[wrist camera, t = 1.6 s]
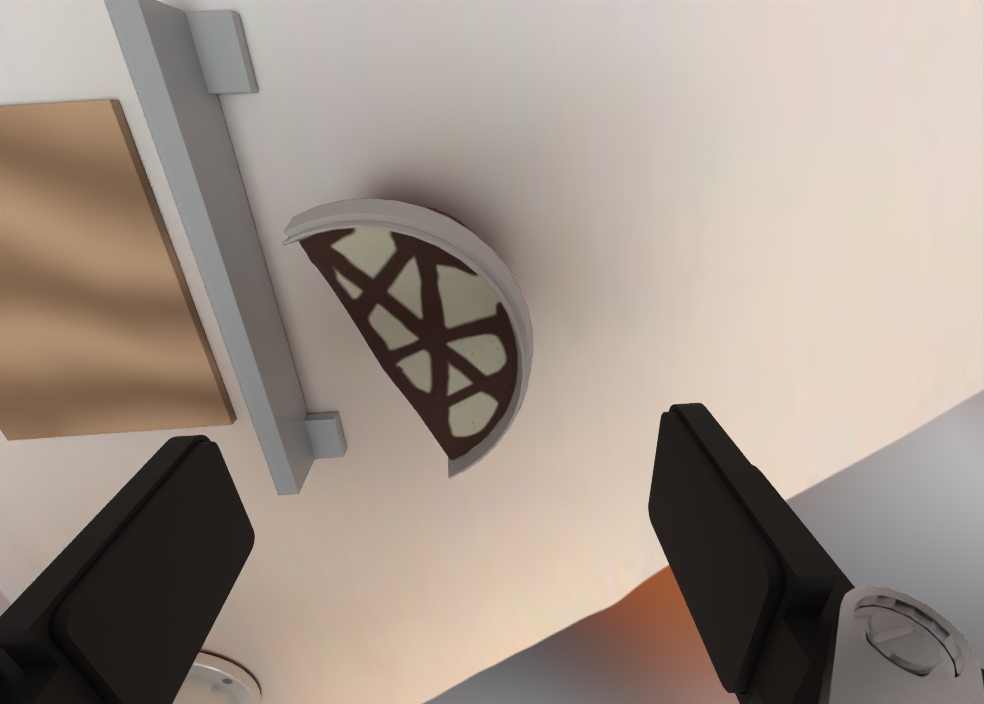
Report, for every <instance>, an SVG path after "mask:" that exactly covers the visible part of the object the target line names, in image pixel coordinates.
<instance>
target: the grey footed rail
mask: <svg viewBox="0 0 984 704" xmlns="http://www.w3.org/2000/svg"><path fill="white" fill-rule="evenodd" d="M104 2H105V5H106V7H107V10H108V13H109V16H110V19H111V22H112V24H113V27H114V30H115V33H116V36H117V39H118V41H119V44H120V47H121V50H122V53H123V56H124V59H125V61H126V64H127V67H128V70H129V73H130V76H131V78H132V81H133V84H134V87H135V90H136V93H137V95H138V98H139V101H140V104H141V107H142V110H143V112H144V115H145V118H146V121H147V124H148V127H149V129H150V132H151V135H152V138H153V141H154V144H155V146H156V149H157V152H158V155H159V158H160V161H161V164H162V166H163V169H164V172H165V175H166V178H167V181H168V183H169V186H170V189H171V192H172V195H173V198H174V200H175V203H176V206H177V209H178V212H179V215H180V217H181V220H182V223H183V226H184V229H185V232H186V234H187V237H188V240H189V243H190V246H191V249H192V252H193V254H194V257H195V260H196V263H197V266H198V269H199V271H200V274H201V277H202V280H203V283H204V286H205V288H206V291H207V294H208V297H209V300H210V303H211V305H212V308H213V311H214V314H215V317H216V320H217V322H218V325H219V328H220V331H221V334H222V337H223V340H224V342H225V345H226V348H227V351H228V354H229V357H230V359H231V362H232V365H233V368H234V371H235V374H236V376H237V379H238V382H239V385H240V388H241V391H242V393H243V396H244V399H245V402H246V405H247V408H248V410H249V413H250V416H251V419H252V422H253V425H254V427H255V430H256V433H257V436H258V439H259V442H260V445H261V447H262V450H263V453H264V456H265V459H266V462H267V464H268V467H269V470H270V473H271V476H272V479H273V481H274V484H275V487H276V490H277V493H278V495H289V494H299V492H300V490H301V488H302V485H303V483H304V481H305V479H306V477H307V475H308V472H309V470H310V468H311V466H312V464H313V462H314V460H315V459H317V458H331V457H344V455H345V452H346V449H347V448H346V444H345V440H344V436H343V432H342V428H341V424H340V420H339V416H338V412H329V413H315V414H308V412H307V408H306V405H305V401H304V398H303V394H302V391H301V387H300V384H299V380H298V377H297V373H296V370H295V366H294V363H293V359H292V355H291V352H290V348H289V345H288V341H287V338H286V334H285V331H284V327H283V324H282V320H281V317H280V313H279V310H278V306H277V303H276V299H275V295H274V292H273V288H272V285H271V281H270V278H269V274H268V271H267V267H266V264H265V260H264V257H263V253H262V250H261V246H260V243H259V239H258V235H257V232H256V228H255V225H254V221H253V218H252V214H251V211H250V207H249V204H248V200H247V197H246V193H245V190H244V186H243V183H242V179H241V175H240V172H239V168H238V165H237V161H236V158H235V154H234V151H233V147H232V144H231V140H230V137H229V133H228V130H227V126H226V122H225V119H224V115H223V112H222V108H221V105H220V101H219V98H218V95H220V94H237V93H254V92H258V89H257V85H256V81H255V77H254V73H253V69H252V65H251V61H250V57H249V53H248V48H247V44H246V40H245V36H244V32H243V28H242V24H241V20H240V16H239V14H238V13H236V12H234V11H232V10H217V11H199V12H183V11H181V10H178V9H176V8H173V7H171V6H168V5H166V4H164V3H161V2H159V1H156V0H104Z"/></svg>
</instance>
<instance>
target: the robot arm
mask: <svg viewBox="0 0 984 704" xmlns="http://www.w3.org/2000/svg"><path fill="white" fill-rule="evenodd" d="M648 510H649V517H650V521H651V523H652V526H653V528H654V530H655V533H656V535H657V537H658V539H659V542H660V544H661V546H662V549H663V551H664V553H665V556H666V558H667V560H668V562H669V565H670V567H671V569H672V571H673V574H674V576H675V578H676V581H677V583H678V585H679V587H680V590H681V592H682V594H683V597H684V599H685V601H686V604H687V606H688V608H689V611H690V613H691V615H692V617H693V619H694V622H695V624H696V627H697V629H698V631H699V633H700V635H701V638H702V640H703V642H704V645H705V647H706V650H707V652H708V654H709V656H710V659H711V661H712V663H713V665H714V668H715V670H716V672H717V675H718V677H719V679H720V681H721V683H722V685H723V687H724V688H725V690H726V691H727V692H728V693H735V694H736V696H737V698H738V700H739V703H740V704H984V669H982V668H981V667H980V665H979V662H978V659H977V656H976V653H975V651H974V650H973V648H972V647H971V646H970V644H969V643H968V641H967V640H966V639H965V637H964V636H963V635H962V634H961V633H960V632H959V631H958V630H957V629H956V628H955V627H954V626H953V625H952V624H951V623H950V622H949V621H948V620H947V619H946V618H944V617H943V616H942V615H940V614H939V613H937V612H936V611H935V610H933V609H932V608H930V607H929V606H927V605H926V604H924V603H922V602H920V601H918V600H916V599H914V598H912V597H911V596H908V595H907V594H904V593H901V592H898V591H895V590H892V589H889V588H885V587H877V586H869V585H868V586H862V587H856V588H855V587H854V586H853V585H852V583H851V582H850V581H849V580H848V578H847V577H846V576H845V575H844V573H843V572H842V571H841V570H840V569H839V567H838V566H837V565H836V564H835V562H834V561H833V560H832V559H831V557H830V556H829V555H828V554H827V552H826V551H825V550H824V549H823V547H822V546H821V545H820V544H819V543H818V541H817V540H816V539H815V538H814V536H813V535H812V534H811V533H810V531H809V530H808V529H807V528H806V527H805V525H804V524H803V523H802V522H801V520H800V519H799V518H798V517H797V515H796V514H795V513H794V512H793V511H792V509H791V508H790V507H789V505H788V504H787V503H786V502H785V501H784V499H783V498H782V497H781V496H780V494H779V493H778V492H777V491H776V489H775V488H774V487H773V486H772V485H771V483H770V482H769V481H768V480H767V478H766V477H765V476H764V475H763V473H762V472H761V471H760V470H759V469H758V468H757V467H756V466H754V465H751V463H750V462H749V461H748V460H747V458H746V457H745V456H744V455H743V453H742V452H741V451H740V450H739V448H738V447H737V446H736V445H735V443H734V442H733V441H732V440H731V438H730V437H729V436H728V435H727V433H726V432H725V431H724V430H723V428H722V427H721V426H720V425H719V423H718V422H717V421H716V420H715V418H714V417H713V416H712V415H711V413H710V412H709V411H708V410H707V408H706V407H705V406H704V405H703V404H701V403H689V404H674V405H672V406H671V407H670V409H669V412H664V413H663V414H662V415H661V420H660V427H659V434H658V441H657V448H656V455H655V462H654V469H653V476H652V483H651V490H650V497H649V504H648ZM254 539H255V536H254V530H253V528H252V525H251V523H250V521H249V518H248V516H247V513H246V511H245V509H244V506H243V504H242V502H241V499H240V497H239V494H238V492H237V490H236V487H235V485H234V483H233V480H232V478H231V475H230V473H229V471H228V468H227V466H226V463H225V461H224V459H223V456H222V454H221V452H220V449H219V447H218V445H217V444H216V443H215V442H212V441H210V440H209V438H208V437H206V436H204V435H194V436H178V437H173V438H171V439H169V440H168V441H167V442H166V443H165V444H164V445H163V446H162V447H161V448H160V449H159V450H158V451H157V452H156V453H155V454H154V456H153V457H152V458H151V459H150V460H149V461H148V462H147V463H146V464H145V465H144V466H143V467H142V468H141V469H140V470H139V471H138V472H137V473H136V474H135V476H134V477H133V478H132V479H131V480H130V481H129V482H128V483H127V484H126V485H125V486H124V487H123V488H122V489H121V490H120V491H119V492H118V493H117V494H116V495H115V497H114V498H113V499H112V500H111V501H110V502H109V503H108V504H107V505H106V506H105V507H104V508H103V509H102V510H101V511H100V512H99V513H98V514H97V515H96V517H95V518H94V519H93V520H92V521H91V522H90V523H89V524H88V525H87V526H86V527H85V528H84V529H83V530H82V531H81V532H80V533H79V534H78V535H77V536H76V538H75V539H74V540H73V541H72V542H71V543H70V544H69V545H68V546H67V547H66V548H65V549H64V550H63V551H62V552H61V553H60V554H59V555H58V556H57V558H56V559H55V560H54V561H53V562H52V563H51V564H50V565H49V566H48V567H47V568H46V569H45V570H44V571H43V572H42V573H41V574H40V575H39V576H38V577H37V579H36V580H35V581H34V582H33V583H32V584H31V585H30V586H29V587H28V588H27V589H26V590H25V591H24V592H23V593H22V594H21V595H20V596H19V597H18V599H17V600H16V601H15V602H14V603H13V604H12V605H11V606H10V607H9V608H8V609H7V610H6V611H5V612H4V613H3V614H2V615H1V616H0V704H260V699H261V695H260V690H259V688H258V686H257V684H256V682H255V681H254V679H253V678H252V677H251V676H250V675H249V674H248V673H247V672H245V671H244V670H243V669H242V668H240V667H238V666H237V665H235V664H233V663H231V662H229V661H227V660H224V659H222V658H219V657H216V656H213V655H209V654H205V653H200V652H199V651H200V649H201V647H202V645H203V643H204V642H205V640H206V638H207V636H208V634H209V632H210V630H211V628H212V626H213V624H214V622H215V620H216V618H217V616H218V614H219V612H220V611H221V609H222V607H223V605H224V603H225V601H226V599H227V597H228V595H229V593H230V591H231V589H232V587H233V585H234V583H235V581H236V580H237V578H238V576H239V574H240V572H241V570H242V568H243V566H244V564H245V562H246V560H247V558H248V556H249V554H250V552H251V550H252V548H253V545H254Z"/></svg>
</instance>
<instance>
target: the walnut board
mask: <svg viewBox="0 0 984 704" xmlns="http://www.w3.org/2000/svg"><path fill="white" fill-rule="evenodd" d="M235 420H236V416H235V414H234V411H233V408H232V406H231V403H230V400H229V398H228V395H227V392H226V389H225V387H224V384H223V381H222V379H221V376H220V373H219V371H218V368H217V365H216V362H215V360H214V357H213V354H212V352H211V349H210V346H209V344H208V341H207V338H206V335H205V333H204V330H203V327H202V325H201V322H200V319H199V317H198V314H197V311H196V308H195V306H194V303H193V300H192V298H191V295H190V292H189V290H188V287H187V284H186V281H185V279H184V276H183V273H182V271H181V268H180V265H179V263H178V260H177V257H176V254H175V252H174V249H173V246H172V244H171V241H170V238H169V236H168V233H167V230H166V227H165V225H164V222H163V219H162V217H161V214H160V211H159V208H158V206H157V203H156V200H155V198H154V195H153V192H152V190H151V187H150V184H149V181H148V179H147V176H146V173H145V171H144V168H143V165H142V163H141V160H140V157H139V154H138V152H137V149H136V146H135V144H134V141H133V138H132V136H131V133H130V130H129V127H128V125H127V122H126V119H125V117H124V114H123V111H122V109H121V106H120V103H119V101H118V100H99V101H82V102H65V103H48V104H32V105H15V106H0V429H1V431H2V432H3V434H4V436H5V437H6V439H7V440H21V439H35V438H49V437H63V436H77V435H92V434H106V433H120V432H134V431H148V430H162V429H176V428H190V427H204V426H218V425H232V424H233V423H234V422H235Z"/></svg>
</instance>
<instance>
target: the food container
mask: <svg viewBox="0 0 984 704" xmlns="http://www.w3.org/2000/svg"><path fill="white" fill-rule="evenodd" d="M284 232H285V234H286V235H287V236H288V238H287V239H286V240H285V241H284V242H283V243H282V244H283V245H286V244H289V243H292V242H296V241H299V242H300V244H301V246H302V247H303V249H304V250H305V252H306V253H307V255H308V257H309V259H310V261H311V262H312V263H313V264H314V265H315V266H316V267H317V268H318V269H319V271H320V272H321V273H322V275H323V276H324V277H325V279H326V280H327V282H328V283H329V285H330V286H331V288H332V289H333V291H334V292H335V293H336V295H337V296H338V298H339V299H340V301H341V302H342V304H343V305H344V307H345V308H346V310H347V312H348V313H349V315H350V316H351V318H352V319H353V321H354V322H355V324H356V326H357V327H358V329H359V330H360V332H361V334H362V335H363V337H364V339H365V340H366V342H367V344H368V345H369V347H370V349H371V350H372V352H373V353H374V355H375V357H376V358H377V360H378V361H379V363H380V365H381V366H382V368H383V369H384V371H385V372H386V373H387V374H388V376H389V377H390V378H391V380H392V381H393V382H394V383H395V385H396V386H397V387H398V388H399V390H400V391H401V392H402V393H403V394H404V396H405V397H406V398H407V400H408V401H409V402H410V403H411V405H412V406H413V407H414V409H415V410H416V411H417V413H418V414H419V415H420V417H421V418H422V420H423V421H424V423H425V424H426V425H427V427H428V428H429V430H430V431H431V433H432V434H433V435H434V437H435V438H436V440H437V441H438V443H439V444H440V446H441V447H442V448H443V450H444V451H445V453H446V454H447V456H448V469H449V479H450V478H452V477H454V476H456V475H458V474H460V473H462V472H464V471H466V470H467V469H469V468H470V467H471V466H473V465H474V464H476V463H477V462H479V461H480V460H481V459H483V458H484V457H485V456H486V455H487V454H488V453H489V452H490V451H491V450H492V449H493V448H494V447H495V446H496V445H497V444H498V442H499V441H500V440H501V438H502V437H503V436H504V434H505V433H506V432H507V430H508V428H509V427H510V426H511V424H512V423H513V421H514V419H515V417H516V415H517V413H518V411H519V410H520V408H521V405H522V402H523V399H524V396H525V393H526V390H527V387H528V381H529V376H530V370H531V363H532V356H533V330H532V325H531V320H530V315H529V311H528V307H527V305H526V302H525V300H524V297H523V295H522V292H521V289H520V287H519V286H518V284H517V282H516V281H515V279H514V277H513V276H512V274H511V272H510V271H509V269H508V267H507V266H506V265H505V264H504V263H503V261H502V260H501V259H500V258H499V257H498V256H497V254H496V253H495V252H494V251H493V250H492V249H491V248H490V247H489V246H488V245H487V244H486V243H484V242H483V241H482V240H481V239H480V238H479V237H477V236H476V235H475V234H474V233H473V232H472V231H470V230H469V229H468V228H467V227H466V226H465V225H463V224H462V223H461V222H460V221H458V220H456V219H455V218H453V217H451V216H450V215H448V214H446V213H443V212H441V211H438V210H436V209H432V208H428V207H423V206H417V205H413V204H409V203H405V202H400V201H396V200H384V199H371V198H366V199H354V200H341V201H337V202H333V203H329V204H326V205H322V206H318V207H314V208H312V209H310V210H308V211H305V212H303V213H301V214H299V215H296V216H294V217H293V218H292V220H291V221H290V223H289V225H288V226H287V228H286V229H285V231H284Z"/></svg>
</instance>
